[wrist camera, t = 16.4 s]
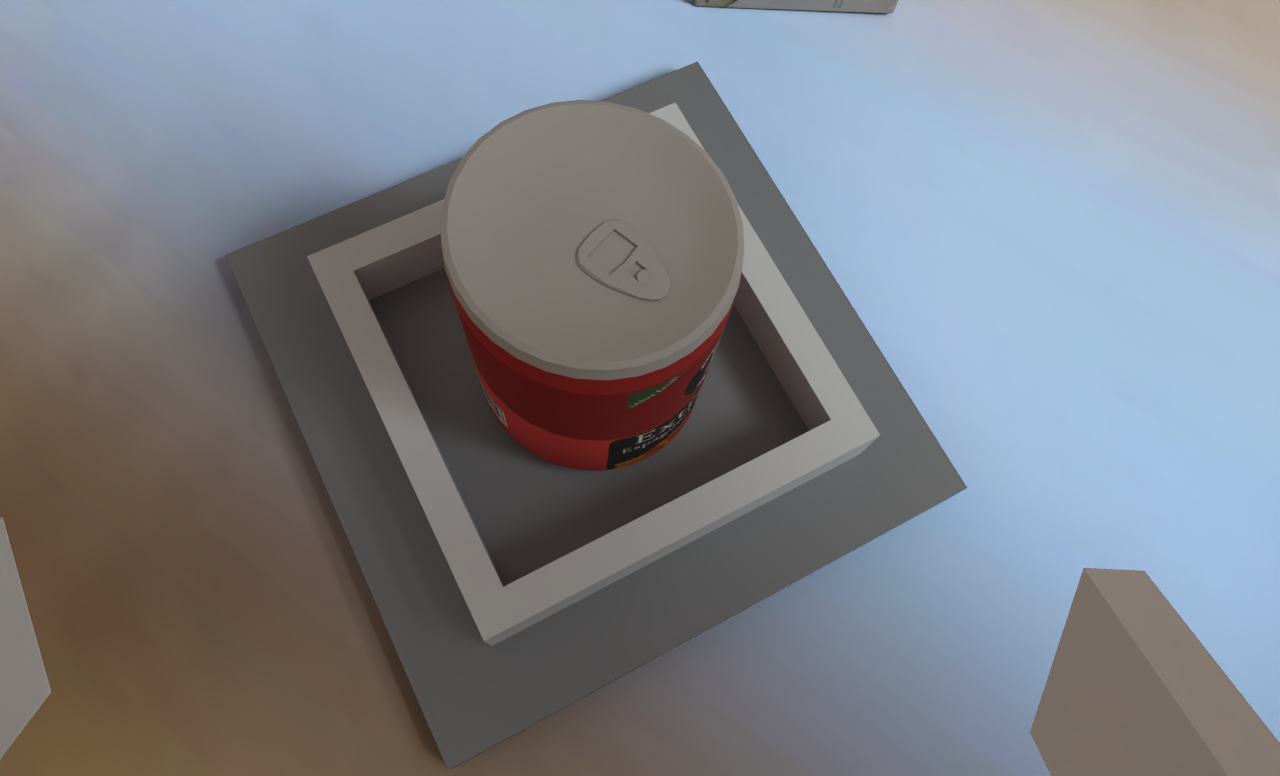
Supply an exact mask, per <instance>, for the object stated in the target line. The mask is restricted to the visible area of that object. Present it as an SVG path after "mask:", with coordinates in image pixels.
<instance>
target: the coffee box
mask: <svg viewBox="0 0 1280 776" xmlns="http://www.w3.org/2000/svg"><path fill="white" fill-rule="evenodd" d="M897 2H898V0H691V3H693V4H694V5H695V6H705V7H731V8H757V9H783V10H809V11H840V12H864V13H892V12H893V11H894V9H895V7H896V5H897Z"/></svg>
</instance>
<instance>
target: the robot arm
mask: <svg viewBox="0 0 1280 776" xmlns="http://www.w3.org/2000/svg"><path fill="white" fill-rule="evenodd" d="M50 693H51V689H50V685H49V682H48V678H47V675H46V671H45V667H44V664H43V660H42V657H41V653H40V649H39V646H38V642H37V639H36V635H35V632H34V628H33V624H32V621H31V617H30V614H29V610H28V606H27V603H26V599H25V596H24V592H23V588H22V585H21V581H20V578H19V574H18V570H17V567H16V563H15V560H14V556H13V553H12V549H11V545H10V542H9V538H8V535H7V531H6V527H5V524H4V520H3V517H0V759H1V758H2V757H3V755H4V754H5V753H6V751H7V750H8V749H9V747H10V746H11V745H12V743H13V742H14V741H15V740H16V738H17V737H18V736H19V734H20V733H21V732H22V730H23V729H24V728H25V726H26V725H27V724H28V722H29V721H30V720H31V718H32V717H33V716H34V714H35V713H36V712H37V710H38V709H39V708H40V706H41V705H42V704H43V702H44V701H45V700H46V699H47V697H48V696H49V695H50ZM1030 733H1031V735H1032V737H1033V739H1034V741H1035V743H1036V745H1037V747H1038V749H1039V752H1040V754H1041V756H1042V758H1043V760H1044V762H1045V764H1046V766H1047V768H1048V770H1049V772H1050V774H1051V776H1280V743H1279V742H1278V740H1277V739H1276V738H1275V737H1274V735H1273V734H1272V733H1271V731H1270V730H1269V729H1268V728H1267V726H1266V725H1265V724H1264V723H1263V721H1262V720H1261V719H1260V717H1259V716H1258V715H1257V714H1256V712H1255V711H1254V710H1253V709H1252V707H1251V706H1250V705H1249V703H1248V702H1247V701H1246V700H1245V698H1244V697H1243V696H1242V695H1241V693H1240V692H1239V691H1238V689H1237V688H1236V687H1235V686H1234V684H1233V683H1232V682H1231V680H1230V679H1229V678H1228V677H1227V675H1226V674H1225V673H1224V672H1223V670H1222V669H1221V668H1220V666H1219V665H1218V664H1217V663H1216V661H1215V660H1214V659H1213V658H1212V656H1211V655H1210V654H1209V652H1208V651H1207V650H1206V649H1205V647H1204V646H1203V645H1202V644H1201V642H1200V641H1199V640H1198V638H1197V637H1196V636H1195V635H1194V633H1193V632H1192V631H1191V630H1190V628H1189V627H1188V626H1187V624H1186V623H1185V622H1184V621H1183V619H1182V618H1181V617H1180V616H1179V614H1178V613H1177V612H1176V610H1175V609H1174V608H1173V607H1172V605H1171V604H1170V603H1169V602H1168V600H1167V599H1166V598H1165V596H1164V595H1163V594H1162V593H1161V591H1160V590H1159V589H1158V588H1157V586H1156V585H1155V584H1154V582H1153V581H1152V580H1151V579H1150V577H1149V576H1148V575H1147V574H1146V572H1145V571H1136V570H1115V569H1093V568H1084V569H1083V572H1082V575H1081V578H1080V581H1079V584H1078V587H1077V590H1076V593H1075V596H1074V599H1073V602H1072V606H1071V609H1070V612H1069V615H1068V618H1067V621H1066V624H1065V627H1064V630H1063V633H1062V636H1061V639H1060V642H1059V645H1058V648H1057V652H1056V655H1055V658H1054V661H1053V664H1052V667H1051V670H1050V673H1049V676H1048V679H1047V682H1046V685H1045V688H1044V691H1043V695H1042V698H1041V701H1040V704H1039V707H1038V710H1037V713H1036V716H1035V719H1034V722H1033V725H1032V728H1031V731H1030Z"/></svg>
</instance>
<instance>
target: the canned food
mask: <svg viewBox="0 0 1280 776" xmlns="http://www.w3.org/2000/svg"><path fill="white" fill-rule="evenodd" d="M440 234H441V247H442V253H443V260H444V266H445V271H446V274H447V277H448V281H449V285H450V290H451V293H452V296H453V299H454V302H455V305H456V308H457V311H458V314H459V317H460V320H461V323H462V327H463V330H464V333H465V336H466V339H467V342H468V345H469V348H470V351H471V354H472V357H473V360H474V363H475V366H476V369H477V373H478V376H479V379H480V382H481V385H482V388H483V391H484V393H485V396H486V398H487V401H488V403H489V406H490V408H491V410H492V412H493V413H494V415H495V416H496V418H497V419H498V421H499V422H500V424H501V426H502V427H503V428H504V429H505V430H506V431H507V432H508V433H509V434H510V435H511V436H512V437H513V438H514V439H515V440H516V441H517V442H518V443H519V444H520V445H522V446H523V447H525V448H526V449H528V450H529V451H530V452H532V453H533V454H535V455H536V456H539V457H541V458H543V459H545V460H547V461H550V462H552V463H554V464H556V465H560V466H564V467H569V468H573V469H577V470H591V471H604V470H611V469H618V468H624V467H627V466H630V465H632V464H635V463H638V462H641V461H644V460H645V459H647V458H649V457H650V456H652V455H654V454H655V453H657V452H659V451H660V450H662V449H663V448H664V447H665V446H666V445H667V444H668V443H669V442H671V441H672V440H673V439H674V438H675V437H676V436H677V435H678V433H679V432H680V431H681V429H682V428H683V426H684V425H685V423H686V422H687V421H688V419H689V417H690V415H691V412H692V410H693V408H694V405H695V403H696V400H697V398H698V395H699V393H700V390H701V387H702V385H703V382H704V380H705V377H706V374H707V372H708V369H709V367H710V364H711V361H712V359H713V356H714V353H715V351H716V348H717V346H718V343H719V340H720V338H721V335H722V333H723V330H724V327H725V325H726V322H727V319H728V317H729V314H730V312H731V309H732V306H733V303H734V299H735V296H736V293H737V290H738V288H739V283H740V277H741V272H742V266H743V256H744V234H743V222H742V219H741V215H740V211H739V208H738V204H737V200H736V198H735V196H734V194H733V192H732V190H731V188H730V186H729V184H728V182H727V180H726V178H725V176H724V174H723V173H722V171H721V170H720V169H719V168H718V166H717V165H716V164H715V162H714V161H713V160H712V158H711V157H710V156H709V155H708V153H707V152H706V151H705V150H703V149H702V148H701V147H700V146H699V145H698V144H697V143H696V142H695V141H693V140H692V139H691V138H690V137H689V136H688V135H687V134H685V133H684V132H682V131H680V130H679V129H677V128H676V127H674V126H672V125H671V124H669V123H668V122H666V121H665V120H663V119H661V118H658V117H656V116H653V115H651V114H649V113H646V112H644V111H641V110H639V109H637V108H632V107H628V106H624V105H620V104H615V103H611V102H602V101H587V100H576V101H566V102H556V103H550V104H546V105H543V106H539V107H536V108H532V109H529V110H525V111H523V112H521V113H519V114H517V115H515V116H513V117H511V118H509V119H507V120H505V121H503V122H501V123H500V124H498V125H497V126H496V127H494V128H493V129H492V130H490V131H489V132H488V133H486V134H485V135H484V136H482V137H481V138H480V139H479V140H478V141H477V142H476V143H475V144H474V145H473V147H472V148H471V149H470V150H469V151H468V152H467V153H466V155H465V156H464V157H463V158H462V160H461V161H460V163H459V165H458V167H457V169H456V170H455V172H454V174H453V176H452V178H451V179H450V181H449V184H448V188H447V191H446V195H445V198H444V201H443V205H442V215H441V230H440Z"/></svg>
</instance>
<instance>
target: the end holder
mask: <svg viewBox="0 0 1280 776" xmlns="http://www.w3.org/2000/svg"><path fill="white" fill-rule="evenodd" d="M602 102H611V103H615V104H620V105H624V106H628V107H632V108H637V109H639V110H641V111H644V112H646V113H649V114H651V115H653V116H656V117H658V118H661V119H663V120H665V121H666V122H668V123H669V124H671V125H672V126H674V127H676V128H677V129H679V130H680V131H682V132H684V133H685V134H687V135H688V136H689V137H690V138H691V139H692V140H693V141H695V142H696V143H697V144H698V145H699V146H700V147H701V148H702V149H703V150H705V151H706V152H707V153H708V155H709V156H710V157H711V158H712V160H713V161H714V162H715V164H716V165H717V166H718V168H719V169H720V170H721V171H722V173H723V174H724V176H725V178H726V180H727V182H728V184H729V186H730V188H731V190H732V192H733V194H734V196H735V198H736V200H737V204H738V208H739V211H740V215H741V219H742V222H743V234H744V256H743V266H742V272H741V277H740V283H739V288H738V290H737V293H736V296H735V299H734V303H733V306H732V309H731V312H730V314H729V317H728V319H727V322H726V325H725V327H724V330H723V333H722V335H721V338H720V340H719V343H718V346H717V348H716V351H715V353H714V356H713V359H712V361H711V364H710V367H709V369H708V372H707V374H706V377H705V380H704V382H703V385H702V387H701V390H700V393H699V395H698V398H697V400H696V403H695V405H694V408H693V410H692V412H691V415H690V417H689V419H688V421H687V422H686V423H685V425H684V426H683V428H682V429H681V431H680V432H679V433H678V435H677V436H676V437H675V438H674V439H673V440H672V441H671V442H669V443H668V444H667V445H666V446H665V447H664V448H663V449H662V450H660V451H659V452H657V453H655V454H654V455H652V456H650V457H649V458H647V459H645V460H644V461H641V462H638V463H635V464H632V465H630V466H627V467H624V468H618V469H611V470H604V471H591V470H577V469H573V468H569V467H564V466H560V465H556V464H554V463H552V462H550V461H547V460H545V459H543V458H541V457H539V456H536V455H535V454H533V453H532V452H530V451H529V450H528V449H526V448H525V447H523V446H522V445H520V444H519V443H518V442H517V441H516V440H515V439H514V438H513V437H512V436H511V435H510V434H509V433H508V432H507V431H506V430H505V429H504V428H503V427H502V426H501V424H500V422H499V421H498V419H497V418H496V416H495V415H494V413H493V412H492V410H491V408H490V406H489V403H488V401H487V398H486V396H485V393H484V391H483V388H482V385H481V382H480V379H479V376H478V373H477V369H476V366H475V363H474V360H473V357H472V354H471V351H470V348H469V345H468V342H467V339H466V336H465V333H464V330H463V327H462V323H461V320H460V317H459V314H458V311H457V308H456V305H455V302H454V299H453V296H452V293H451V290H450V285H449V281H448V277H447V274H446V271H445V266H444V260H443V253H442V247H441V234H440V230H441V215H442V205H443V201H444V198H445V195H446V191H447V188H448V184H449V181H450V179H451V178H452V176H453V174H454V172H455V170H456V169H457V167H458V165H459V163H460V161H461V160H462V159H459V160H457V161H454V162H452V163H449V164H447V165H444V166H442V167H440V168H437V169H435V170H432V171H430V172H427V173H425V174H423V175H420V176H418V177H415V178H413V179H410V180H408V181H405V182H403V183H401V184H398V185H396V186H393V187H391V188H388V189H386V190H384V191H381V192H379V193H376V194H374V195H371V196H369V197H367V198H364V199H362V200H359V201H357V202H354V203H352V204H349V205H347V206H345V207H342V208H340V209H337V210H335V211H332V212H330V213H328V214H325V215H323V216H320V217H318V218H315V219H313V220H310V221H308V222H306V223H303V224H301V225H298V226H296V227H293V228H291V229H289V230H286V231H284V232H281V233H279V234H276V235H274V236H272V237H269V238H267V239H264V240H262V241H259V242H257V243H254V244H252V245H250V246H247V247H245V248H242V249H240V250H237V251H235V252H233V253H230V254H228V255H225V256H226V258H227V261H228V263H229V265H230V268H231V270H232V272H233V274H234V277H235V279H236V281H237V284H238V286H239V288H240V291H241V293H242V295H243V298H244V300H245V302H246V305H247V307H248V309H249V312H250V314H251V316H252V318H253V321H254V323H255V325H256V328H257V330H258V332H259V335H260V337H261V339H262V342H263V344H264V346H265V349H266V351H267V353H268V355H269V358H270V360H271V362H272V365H273V367H274V369H275V372H276V374H277V376H278V379H279V381H280V383H281V386H282V388H283V390H284V392H285V395H286V397H287V399H288V402H289V404H290V406H291V409H292V411H293V413H294V416H295V418H296V420H297V423H298V425H299V427H300V429H301V432H302V434H303V436H304V439H305V441H306V443H307V446H308V448H309V450H310V453H311V455H312V457H313V460H314V462H315V464H316V466H317V469H318V471H319V473H320V476H321V478H322V480H323V483H324V485H325V487H326V490H327V492H328V494H329V497H330V499H331V501H332V504H333V506H334V508H335V510H336V513H337V515H338V517H339V520H340V522H341V524H342V527H343V529H344V531H345V534H346V536H347V538H348V541H349V543H350V545H351V547H352V550H353V552H354V554H355V557H356V559H357V561H358V564H359V566H360V568H361V571H362V573H363V575H364V578H365V580H366V582H367V584H368V587H369V589H370V591H371V594H372V596H373V598H374V601H375V603H376V605H377V608H378V610H379V612H380V615H381V617H382V619H383V621H384V624H385V626H386V628H387V631H388V633H389V635H390V638H391V640H392V642H393V645H394V647H395V649H396V652H397V654H398V656H399V659H400V661H401V663H402V665H403V668H404V670H405V672H406V675H407V677H408V679H409V682H410V684H411V686H412V689H413V691H414V693H415V696H416V698H417V700H418V702H419V705H420V707H421V709H422V712H423V714H424V716H425V719H426V721H427V723H428V726H429V728H430V730H431V733H432V735H433V737H434V739H435V742H436V744H437V746H438V749H439V751H440V753H441V756H442V758H443V760H444V763H445V765H446V767H447V770H450V769H452V768H454V767H456V766H458V765H459V764H461V763H463V762H465V761H467V760H469V759H471V758H472V757H474V756H476V755H478V754H480V753H482V752H483V751H485V750H487V749H489V748H491V747H493V746H494V745H496V744H498V743H500V742H502V741H504V740H505V739H507V738H509V737H511V736H513V735H515V734H516V733H518V732H520V731H522V730H524V729H526V728H527V727H529V726H531V725H533V724H535V723H537V722H538V721H540V720H542V719H544V718H546V717H548V716H550V715H551V714H553V713H555V712H557V711H559V710H561V709H562V708H564V707H566V706H568V705H570V704H572V703H573V702H575V701H577V700H579V699H581V698H583V697H584V696H586V695H588V694H590V693H592V692H594V691H595V690H597V689H599V688H601V687H603V686H605V685H606V684H608V683H610V682H612V681H614V680H616V679H618V678H619V677H621V676H623V675H625V674H627V673H629V672H630V671H632V670H634V669H636V668H638V667H640V666H641V665H643V664H645V663H647V662H649V661H651V660H652V659H654V658H656V657H658V656H660V655H662V654H663V653H665V652H667V651H669V650H671V649H673V648H674V647H676V646H678V645H680V644H682V643H684V642H685V641H687V640H689V639H691V638H693V637H695V636H697V635H698V634H700V633H702V632H704V631H706V630H708V629H709V628H711V627H713V626H715V625H717V624H719V623H720V622H722V621H724V620H726V619H728V618H730V617H731V616H733V615H735V614H737V613H739V612H741V611H742V610H744V609H746V608H748V607H750V606H752V605H753V604H755V603H757V602H759V601H761V600H763V599H765V598H766V597H768V596H770V595H772V594H774V593H776V592H777V591H779V590H781V589H783V588H785V587H787V586H788V585H790V584H792V583H794V582H796V581H798V580H799V579H801V578H803V577H805V576H807V575H809V574H810V573H812V572H814V571H816V570H818V569H820V568H821V567H823V566H825V565H827V564H829V563H831V562H833V561H834V560H836V559H838V558H840V557H842V556H844V555H845V554H847V553H849V552H851V551H853V550H855V549H856V548H858V547H860V546H862V545H864V544H866V543H867V542H869V541H871V540H873V539H875V538H877V537H878V536H880V535H882V534H884V533H886V532H888V531H889V530H891V529H893V528H895V527H897V526H899V525H900V524H902V523H904V522H906V521H908V520H910V519H912V518H913V517H915V516H917V515H919V514H921V513H923V512H924V511H926V510H928V509H930V508H932V507H934V506H935V505H937V504H939V503H941V502H943V501H945V500H946V499H948V498H950V497H952V496H954V495H956V494H957V493H959V492H961V491H962V490H964V489H966V488H967V487H966V485H965V484H964V482H963V481H962V479H961V477H960V476H959V474H958V473H957V471H956V469H955V468H954V466H953V465H952V463H951V462H950V460H949V458H948V457H947V455H946V454H945V452H944V450H943V449H942V447H941V446H940V444H939V443H938V441H937V439H936V438H935V436H934V435H933V433H932V432H931V430H930V428H929V427H928V425H927V424H926V422H925V420H924V419H923V417H922V416H921V414H920V413H919V411H918V409H917V408H916V406H915V405H914V403H913V401H912V400H911V398H910V397H909V395H908V394H907V392H906V390H905V389H904V387H903V386H902V384H901V382H900V381H899V379H898V378H897V376H896V375H895V373H894V371H893V370H892V368H891V367H890V365H889V364H888V362H887V360H886V359H885V357H884V356H883V354H882V352H881V351H880V349H879V348H878V346H877V345H876V343H875V341H874V340H873V338H872V337H871V335H870V333H869V332H868V330H867V329H866V327H865V326H864V324H863V322H862V321H861V319H860V318H859V316H858V315H857V313H856V311H855V310H854V308H853V307H852V305H851V303H850V302H849V300H848V299H847V297H846V296H845V294H844V292H843V291H842V289H841V288H840V286H839V284H838V283H837V281H836V280H835V278H834V277H833V275H832V273H831V272H830V270H829V269H828V267H827V266H826V264H825V262H824V261H823V259H822V258H821V256H820V254H819V253H818V251H817V250H816V248H815V247H814V245H813V243H812V242H811V240H810V239H809V237H808V235H807V234H806V232H805V231H804V229H803V228H802V226H801V224H800V223H799V221H798V220H797V218H796V216H795V215H794V213H793V212H792V210H791V209H790V207H789V205H788V204H787V202H786V201H785V199H784V198H783V196H782V194H781V193H780V191H779V190H778V188H777V186H776V185H775V183H774V182H773V180H772V179H771V177H770V175H769V174H768V172H767V171H766V169H765V167H764V166H763V164H762V163H761V161H760V160H759V158H758V156H757V155H756V153H755V152H754V150H753V149H752V147H751V145H750V144H749V142H748V141H747V139H746V137H745V136H744V134H743V133H742V131H741V130H740V128H739V126H738V125H737V123H736V122H735V120H734V118H733V117H732V115H731V114H730V112H729V111H728V109H727V107H726V106H725V104H724V103H723V101H722V99H721V98H720V96H719V95H718V93H717V92H716V90H715V88H714V87H713V85H712V84H711V82H710V81H709V79H708V77H707V76H706V74H705V73H704V71H703V69H702V68H701V66H700V65H699V63H698V62H695V63H693V64H690V65H688V66H686V67H683V68H681V69H678V70H676V71H673V72H671V73H669V74H666V75H664V76H661V77H659V78H656V79H654V80H651V81H649V82H647V83H644V84H642V85H639V86H637V87H634V88H632V89H630V90H627V91H625V92H622V93H620V94H617V95H615V96H613V97H610V98H608V99H605V100H603V101H602Z"/></svg>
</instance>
